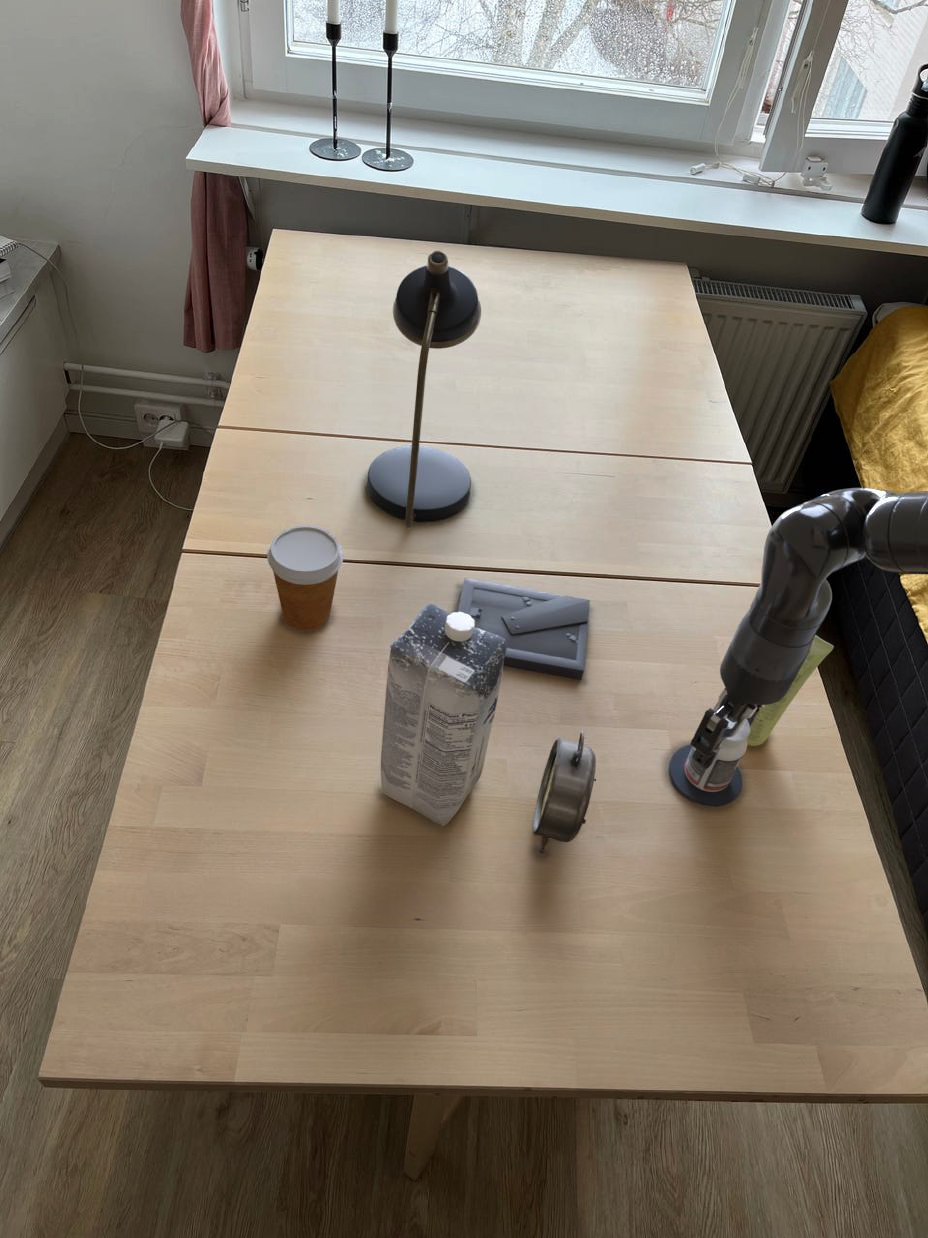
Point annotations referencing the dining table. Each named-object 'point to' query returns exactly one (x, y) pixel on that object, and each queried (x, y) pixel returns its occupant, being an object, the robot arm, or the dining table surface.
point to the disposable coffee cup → (305, 574)
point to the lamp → (418, 475)
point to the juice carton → (439, 711)
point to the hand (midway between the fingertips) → (721, 743)
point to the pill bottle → (719, 762)
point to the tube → (774, 711)
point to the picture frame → (531, 626)
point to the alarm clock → (564, 791)
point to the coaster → (695, 793)
